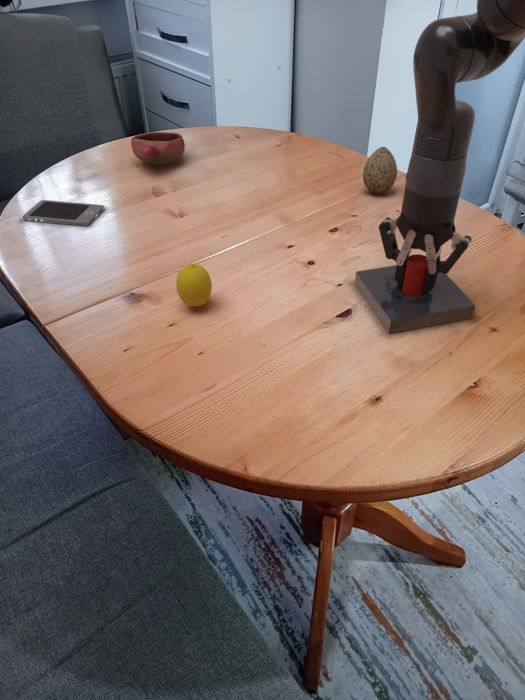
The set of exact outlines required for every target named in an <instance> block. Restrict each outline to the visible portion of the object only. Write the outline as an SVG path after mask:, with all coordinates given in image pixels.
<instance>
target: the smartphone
mask: <svg viewBox="0 0 525 700" xmlns="http://www.w3.org/2000/svg"><path fill="white" fill-rule="evenodd" d="M103 211H105V205H104V204H95V203H85V202H84V203H83V202H72V201H71V202H70V201H60V200H48V199H42V200H40V201H38V202H37V203H36V204H35V205H34V206H32V208H30V209H29V210H28V211H26V213H24V214H23V215H22V216H21V217H22V220H23V221H29V222H40V223H47V224H48V223H50V224H58V225H59V224H60V225H70V226H71V225H72V226H81V227H88V226H90V225H91V224H92V223H93V222H94V221H95V220H96V219H97V218H98V216H100V215H101V214H102V213H103Z"/></svg>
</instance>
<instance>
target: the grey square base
mask: <svg viewBox="0 0 525 700" xmlns="http://www.w3.org/2000/svg"><path fill="white" fill-rule="evenodd" d="M396 266H397V264H393V265H388V266H382V267H375V268H370V269H363V270H356V271H355V278H354V285H355V287H356V288H357V290H358V291H359V293H360V294H361V295H362V297H363V298H364V300H365V301H366V304H368V306H369V307H370V308H371V310H372V312H373V313H374V314H375V316H376V317H377V319H378V320H379V321H380V324H382V326H383V328H384V330H386V332H387V333H388V335H390V334H394V333H402V332H405V331H410V330H411V331H412V330H417V329H422V328H427V327H432V326H439V325H444V324H449V323H456V322H460V321H466V320H470V319H473V317H474V314H475V310H476V308H477V307H476V306H477V305H476V304H475V303H474V302H473V301H472V300H471V299H470V297H468V295H467V294H466V293H465V292H464V291H463V290H462V289H461V288H460V287H459V286H458V284H457V283H455V281H453V280H452V278H450V276H449V275H448V273H447V274H443V273H442V272H440V273H438V276H437V280H436V284H435V286H434V288H433V289H432V290H431V291H430V290H429V291H428V293H424V295H422V296H410V295H406V294H404V293H402V292H401V290H402V286H400V285H397V282H398V281H395V273H396Z"/></svg>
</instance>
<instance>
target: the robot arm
mask: <svg viewBox="0 0 525 700" xmlns="http://www.w3.org/2000/svg"><path fill="white" fill-rule="evenodd" d="M524 39H525V0H476V12H475V13H471V14H465V15H458V16H450V17H449V16H448V17H443V18H438V19H435V20H433V21H431V22H430V23H429V24H427V26H425V28H423V30H422V32H421V34H420V35H419V37H418V39H417V41H416V45H415V48H414V52H413V58H412V66H413V67H412V68H413V80H414V88H415V90H414V91H415V101H416V109H417V122H416V129H415V135H414V140H413V147H412V152H411V156H410V159H409V162H408V167H407V172H406V174H405V184H404V190H403V191H404V192H403V196H402V197H403V198H402V203H401V211H400V214H399V216H398V217H397V218H391V217H389V216H387V217H385V218H384V219H383V220H382V221H381V222H380V223H379V225H378V230H379V234H380V239H381V242H382V247H383V250H384V255H385V258H386V259H387V260H393V261H394V262H395V263H396V264H395V265H397V266H396V273H395V281H398V282H397V285H400V286H402V284H403V279H404V273H405V267H406V261H407V258H408V257H409V256H410V255H411V252H412V250H420V251H422V252H424V253H425V256H426V260H427V261H428V271H427V273H426V277H425V282H424V287H423V292H424V293H428V291H429V290H430V291H431V290H432V289H433V288H434V286H435V284H436V280H437V276H438V273H440V272H442V273H443V274H447V275H448V273H449V272H450V271H451V269H452V268H453V267H454V266H455V265H456V263H457V262H458V261H459V259H461V257H462V256H463V254H464V253H465V251H467V249H468V248H469V245H470V244H471V242H472V237H471V236H470V235H465V236H463V235H462V234H460V233H458V231H456V226H455V218H456V214H457V208H458V205H459V200H460V196H461V191H462V187H463V182H464V179H465V174H466V169H467V160H468V159H467V158H468V152H469V149H470V144H471V140H472V134H473V130H474V126H475V121H476V112H475V109H474V108H473V106H472V105H471V104H470V103H467V102H465V101H463V100H458V99H456V86H457V84H460V83H465V82H466V83H467V82H471V81H477V80H480V79H482V78H484V77H486V76H489V75H491V74H492V73H493V72H495V71H496V70H498V69H499V68H500V67H501V66H503V65H504V64H505V63H506V62H507V60H508V59H509V58H510V57H511V56H512V54H513V53H514V52H515V51H516V50H517V48H518V47H520V45H521V44H522V43H523V41H524ZM397 230H398V232H399V233H400V235H401V237H402V239H403V243H402V245H401V248H400V249H399V245H398V241H397V236H396V231H397ZM448 241H451V246H450V247H451V249H452V252H451V253H450V254H449V256H448V257H447V259H445V260H441V259H442V258H441V257H442V256H441V253H442V246H443V245H444V244H446V243H447V242H448Z"/></svg>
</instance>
